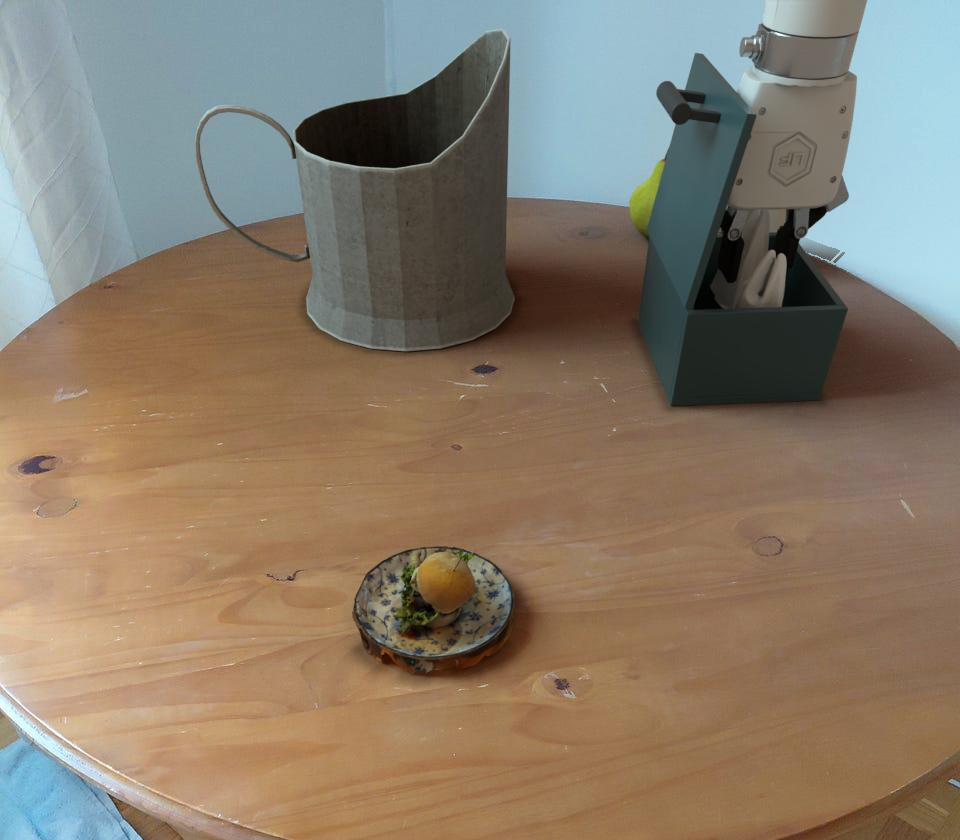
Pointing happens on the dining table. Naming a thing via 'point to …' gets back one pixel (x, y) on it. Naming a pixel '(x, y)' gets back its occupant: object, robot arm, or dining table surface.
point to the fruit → (645, 199)
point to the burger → (434, 609)
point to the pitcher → (405, 206)
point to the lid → (697, 172)
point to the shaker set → (754, 270)
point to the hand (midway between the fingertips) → (752, 274)
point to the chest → (741, 337)
